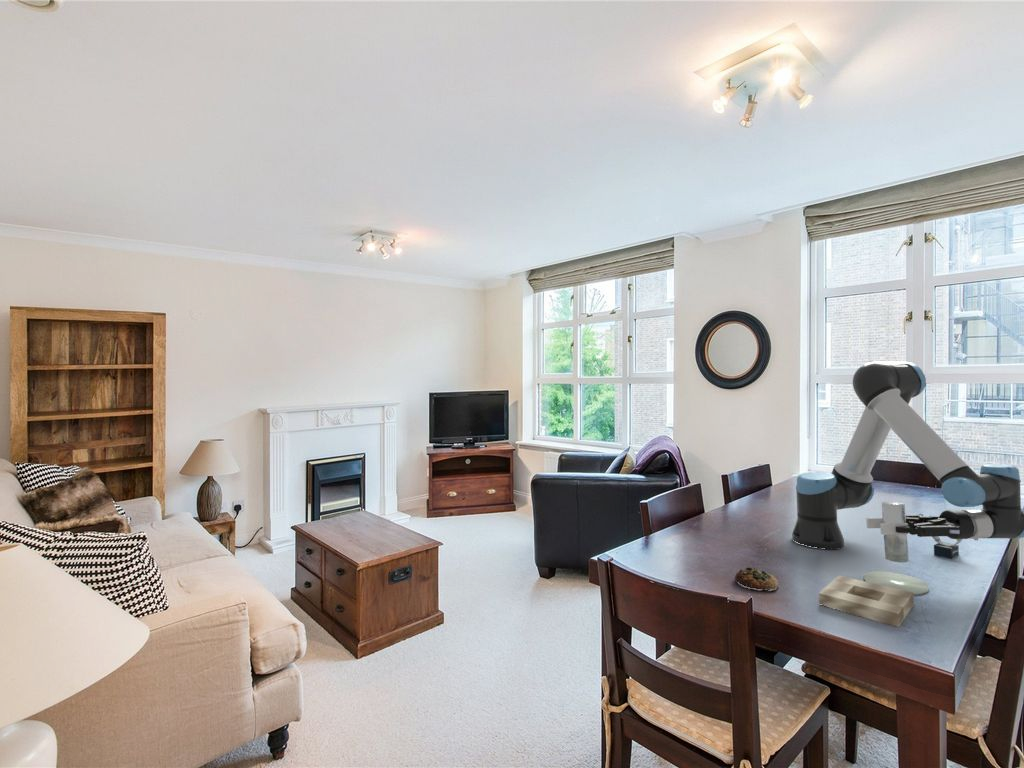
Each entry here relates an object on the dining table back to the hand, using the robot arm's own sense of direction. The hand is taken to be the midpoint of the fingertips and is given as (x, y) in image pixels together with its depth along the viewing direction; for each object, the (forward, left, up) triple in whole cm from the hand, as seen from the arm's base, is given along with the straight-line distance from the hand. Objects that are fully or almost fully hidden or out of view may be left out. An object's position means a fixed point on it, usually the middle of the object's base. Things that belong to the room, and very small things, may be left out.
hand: (874, 525), depth 136 cm
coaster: (+3, +4, -16) cm, 17 cm away
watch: (+9, +41, -16) cm, 45 cm away
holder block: (+1, -16, -16) cm, 23 cm away
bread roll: (-23, -21, -16) cm, 35 cm away
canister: (+4, +4, -9) cm, 11 cm away
